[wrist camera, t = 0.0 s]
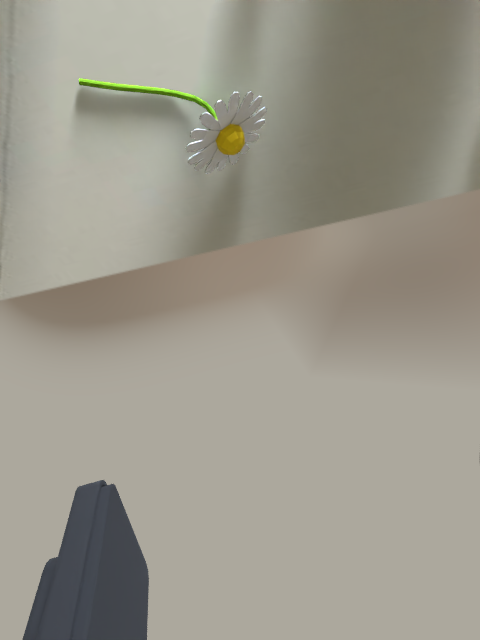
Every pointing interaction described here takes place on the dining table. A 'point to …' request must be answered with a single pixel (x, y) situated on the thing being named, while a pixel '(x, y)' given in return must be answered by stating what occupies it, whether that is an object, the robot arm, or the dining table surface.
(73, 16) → the dining table surface
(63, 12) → the dining table surface
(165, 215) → the dining table surface
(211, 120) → the decorative flower
